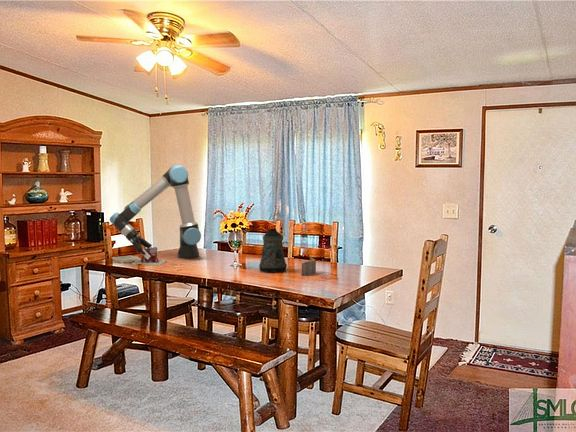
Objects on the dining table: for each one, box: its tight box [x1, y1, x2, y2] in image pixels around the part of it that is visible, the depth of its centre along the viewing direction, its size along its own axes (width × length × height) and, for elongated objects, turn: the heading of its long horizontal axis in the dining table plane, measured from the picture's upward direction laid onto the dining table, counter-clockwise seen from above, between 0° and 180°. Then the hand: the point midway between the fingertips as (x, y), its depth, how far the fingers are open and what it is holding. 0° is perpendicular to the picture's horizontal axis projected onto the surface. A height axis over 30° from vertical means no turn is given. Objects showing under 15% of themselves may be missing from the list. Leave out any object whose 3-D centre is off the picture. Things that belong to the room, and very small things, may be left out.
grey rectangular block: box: [301, 256, 317, 277], centre depth 293 cm, size 11×3×10 cm, turn 145°
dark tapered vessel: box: [258, 228, 288, 274], centre depth 304 cm, size 16×19×25 cm
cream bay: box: [111, 255, 142, 264], centre depth 341 cm, size 18×13×2 cm
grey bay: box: [131, 259, 167, 266], centre depth 327 cm, size 18×13×2 cm
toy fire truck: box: [140, 246, 160, 263], centre depth 327 cm, size 7×12×10 cm, turn 148°
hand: (152, 256), depth 327 cm, fingers open, 13 cm apart
